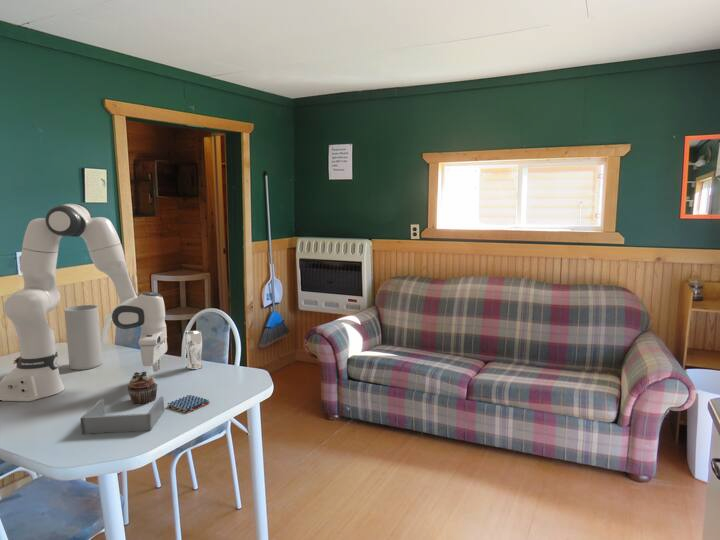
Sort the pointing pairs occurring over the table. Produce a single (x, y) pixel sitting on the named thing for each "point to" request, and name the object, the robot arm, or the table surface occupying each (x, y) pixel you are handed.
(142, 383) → the cupcake
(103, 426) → the box
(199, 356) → the beer glass
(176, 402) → the woven mat
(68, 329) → the cylinder vase
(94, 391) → the table surface
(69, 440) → the table surface
